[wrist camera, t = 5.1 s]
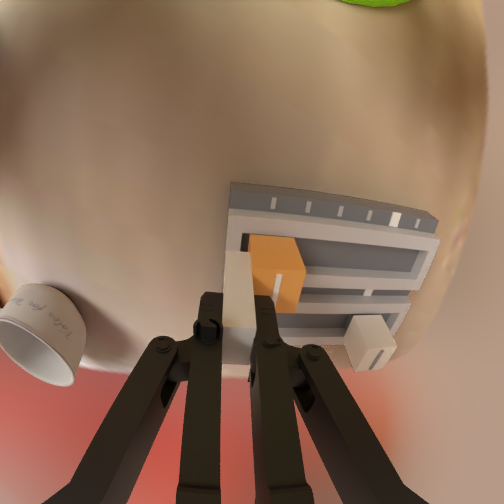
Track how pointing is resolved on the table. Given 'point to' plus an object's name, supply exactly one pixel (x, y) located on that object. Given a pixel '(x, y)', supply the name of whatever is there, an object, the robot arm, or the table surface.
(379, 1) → the wineglass
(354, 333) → the fader
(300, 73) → the table surface
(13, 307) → the teacup
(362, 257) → the console
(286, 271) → the fader
